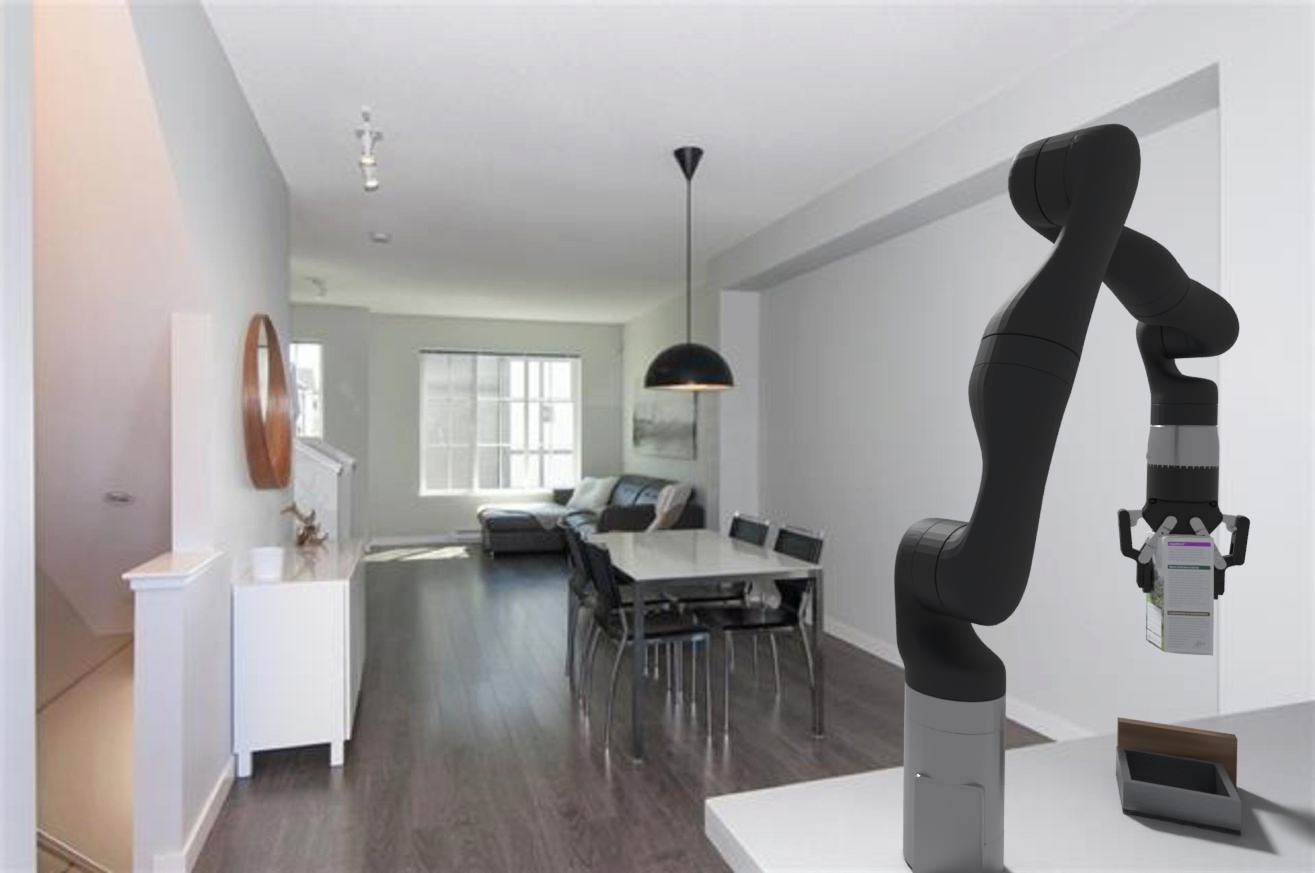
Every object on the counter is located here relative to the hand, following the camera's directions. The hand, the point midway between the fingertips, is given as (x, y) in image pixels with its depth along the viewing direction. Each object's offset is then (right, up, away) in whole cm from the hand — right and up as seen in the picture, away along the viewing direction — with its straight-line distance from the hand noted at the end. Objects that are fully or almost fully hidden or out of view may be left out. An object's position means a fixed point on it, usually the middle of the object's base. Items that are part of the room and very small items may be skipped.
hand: (1179, 594), depth 99 cm
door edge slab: (-3, -21, -3) cm, 22 cm away
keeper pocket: (-7, -21, -10) cm, 25 cm away
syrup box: (0, -7, 0) cm, 7 cm away
